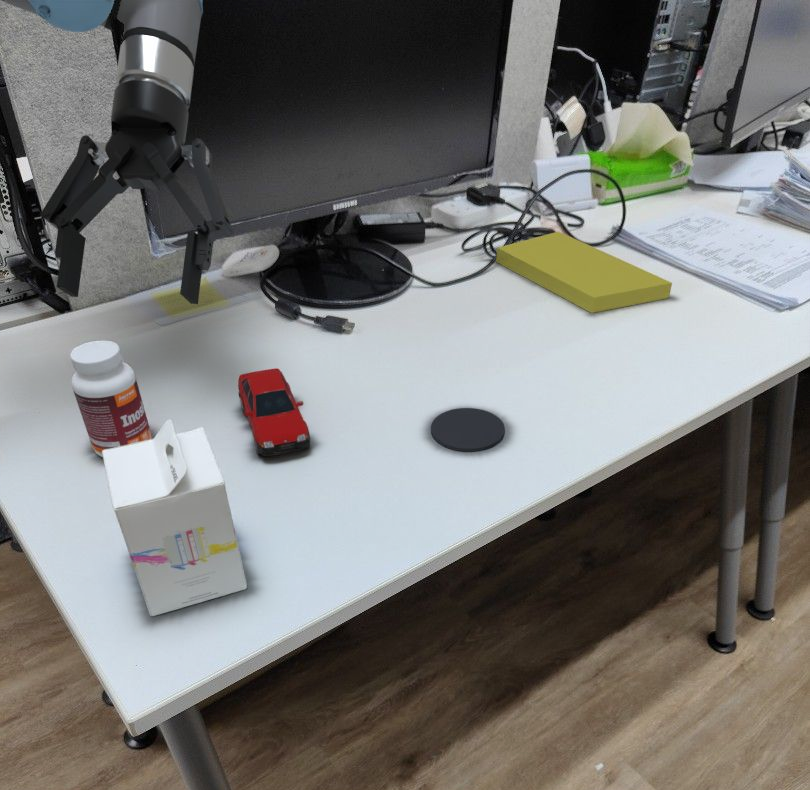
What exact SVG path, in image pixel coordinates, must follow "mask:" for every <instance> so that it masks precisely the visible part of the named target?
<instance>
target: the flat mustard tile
mask: <svg viewBox="0 0 810 790" xmlns="http://www.w3.org/2000/svg"><path fill="white" fill-rule="evenodd" d="M495 261H496V263H497V264H499V265H501V266H503V267H505V268H507V269H508V270H510V271H512V272H514V273H516V274H518V275H519V276H522V277H524V278H525V279H527V280H529V281H531V282H532V283H535V284H537V285H539V286H540V287H542V288H544V289H546V290H548V291H550V292H551V293H553V294H555V295H557V296H559V297H561V298H563V299H564V300H566V301H568V302H570V303H572V304H574V305H576V306H578V307H579V308H581V309H583V310H585V311H587V312H589V313H591V314H593V313H599V312H604V311H609V310H615V309H619V308H625V307H629V306H636V305H640V304H645V303H651V302H657V301H660V300H661V301H662V300H666V299H670V295H671V290H672V286H673V282H671V281H669V280H668V279H667V280H666V279H665V278H663V277H660V276H658V275H656V274H655V273H654V274H653V273H652V272H649V271H647V270H645V269H643V268H640V267H638V266H636V265H634V264H632V263H629V262H627V261H625V260H623V259H620V258H618V257H616V256H614V255H612V254H610V253H607V252H605V251H603V250H601V249H599V248H596V247H595V246H592V245H589V244H587V243H585V242H583V241H581V240H579V239H577V238H574V237H572V236H569V235H568V234H566V233H563V232H561V231H556V232H551V233H548V234H543V235H540V236H537V237H532V238H529V239H524V240H522V241H517V242H513V243H510V244H505V245H502V246H499V247H498V246H497V247H496V260H495Z"/></svg>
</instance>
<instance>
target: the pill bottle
mask: <svg viewBox="0 0 810 790" xmlns="http://www.w3.org/2000/svg"><path fill="white" fill-rule="evenodd" d="M69 356H70V360H71V364H72V367H73V369H74V371H75V372H74V373H73V375H72V377H71V388H72V392H73V393H74V397H75V401H76V403H77V406H78V409H79V412H80V414H81V417H82V421H83V424H84V427H85V430H86V433H87V436H88V439H89V441H90V444H91V447H92V450H93V451H94V453H95V454H97V455H98V456H99V457H101V458H103V454H102V451H103V450H105V449H111V448H114V447H119V446H123V445H128V444H132V443H136V442H141V441H146V440H151V439H152V432H151V428H150V424H149V421H148V417H147V413H146V409H145V406H144V405H145V404H144V402H143V399H142V395H141V391H140V387H139V384H138V381H137V376H136V373H135V371H134V368H132V366H130V365H129V364H128V363H127V362H124V358H123V355H122V351H121V348H120V346H119V344H118V343H116V342H114V341H112V340H111V341H110V340H94V341H88V342H85V343H84V342H83V343H81V344H79V345H77V346H76V347H74V348H73V349H72V350H71V351H70V355H69Z"/></svg>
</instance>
